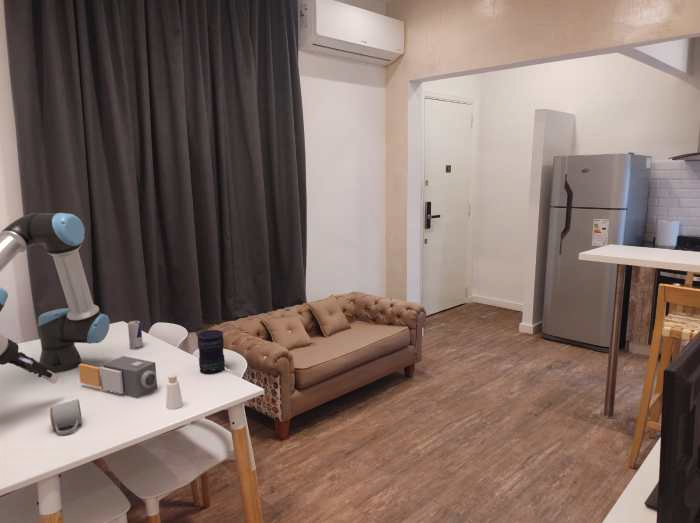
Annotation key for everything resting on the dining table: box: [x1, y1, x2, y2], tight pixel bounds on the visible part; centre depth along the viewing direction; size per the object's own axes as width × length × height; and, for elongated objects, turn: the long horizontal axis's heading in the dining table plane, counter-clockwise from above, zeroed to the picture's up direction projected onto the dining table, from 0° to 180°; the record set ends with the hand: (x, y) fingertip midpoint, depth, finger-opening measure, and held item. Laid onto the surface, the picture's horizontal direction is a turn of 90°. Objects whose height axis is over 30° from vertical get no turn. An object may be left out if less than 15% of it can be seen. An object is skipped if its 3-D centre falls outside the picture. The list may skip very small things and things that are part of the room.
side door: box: [77, 363, 124, 395], centre depth 181 cm, size 21×1×8 cm, turn 65°
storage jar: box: [197, 329, 226, 375], centre depth 199 cm, size 10×10×15 cm
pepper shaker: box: [165, 373, 184, 410], centre depth 169 cm, size 5×5×11 cm
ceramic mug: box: [49, 398, 83, 436], centre depth 156 cm, size 11×8×8 cm
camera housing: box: [102, 355, 158, 399], centre depth 182 cm, size 18×9×11 cm, turn 65°
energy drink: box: [127, 320, 144, 350], centre depth 225 cm, size 5×5×12 cm
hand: (55, 379), depth 173 cm, fingers closed
